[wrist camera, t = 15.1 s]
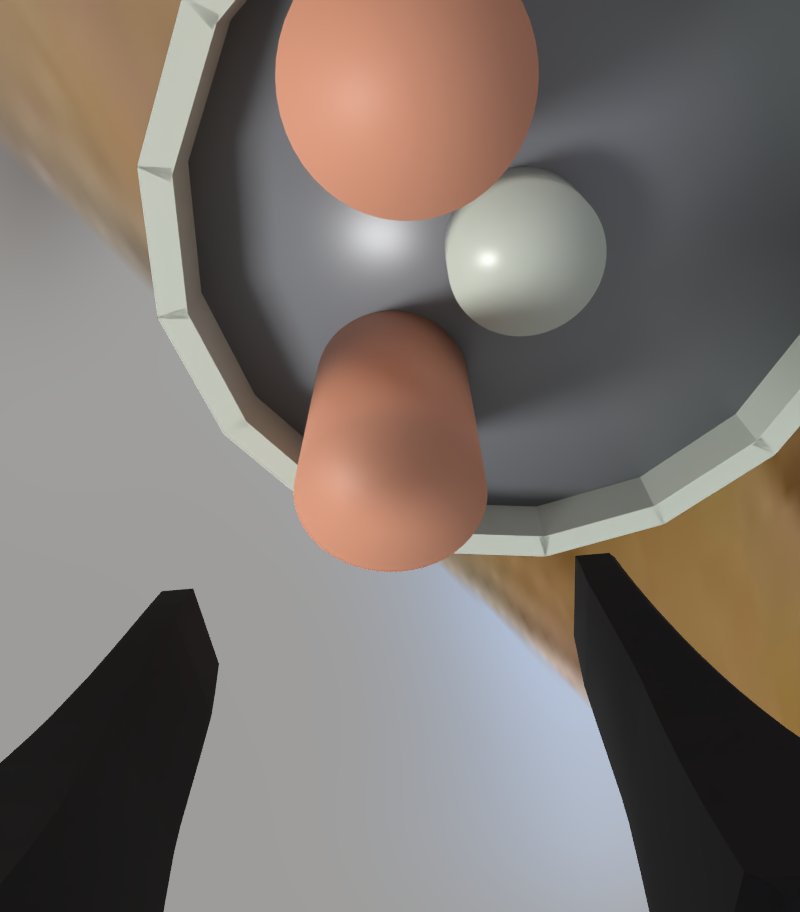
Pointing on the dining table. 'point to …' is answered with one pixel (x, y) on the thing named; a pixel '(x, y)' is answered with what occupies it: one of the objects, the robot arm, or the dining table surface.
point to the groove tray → (655, 199)
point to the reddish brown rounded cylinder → (391, 446)
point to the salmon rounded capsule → (406, 98)
